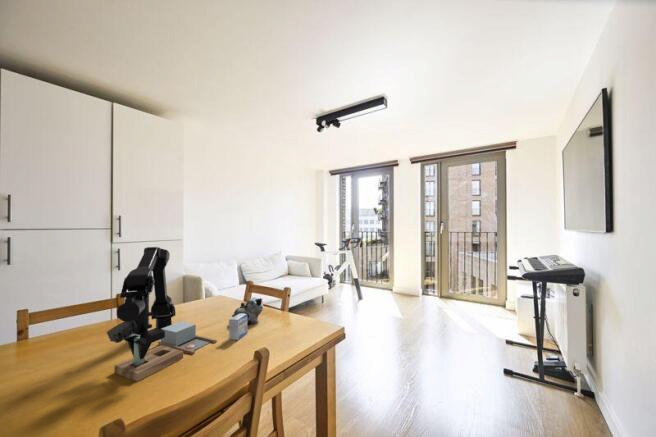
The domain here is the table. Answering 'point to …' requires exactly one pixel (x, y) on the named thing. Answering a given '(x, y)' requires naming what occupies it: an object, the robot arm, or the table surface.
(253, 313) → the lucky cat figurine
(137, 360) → the teal peg
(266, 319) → the table surface
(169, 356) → the board
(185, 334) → the cover
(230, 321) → the medicine box
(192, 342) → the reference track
